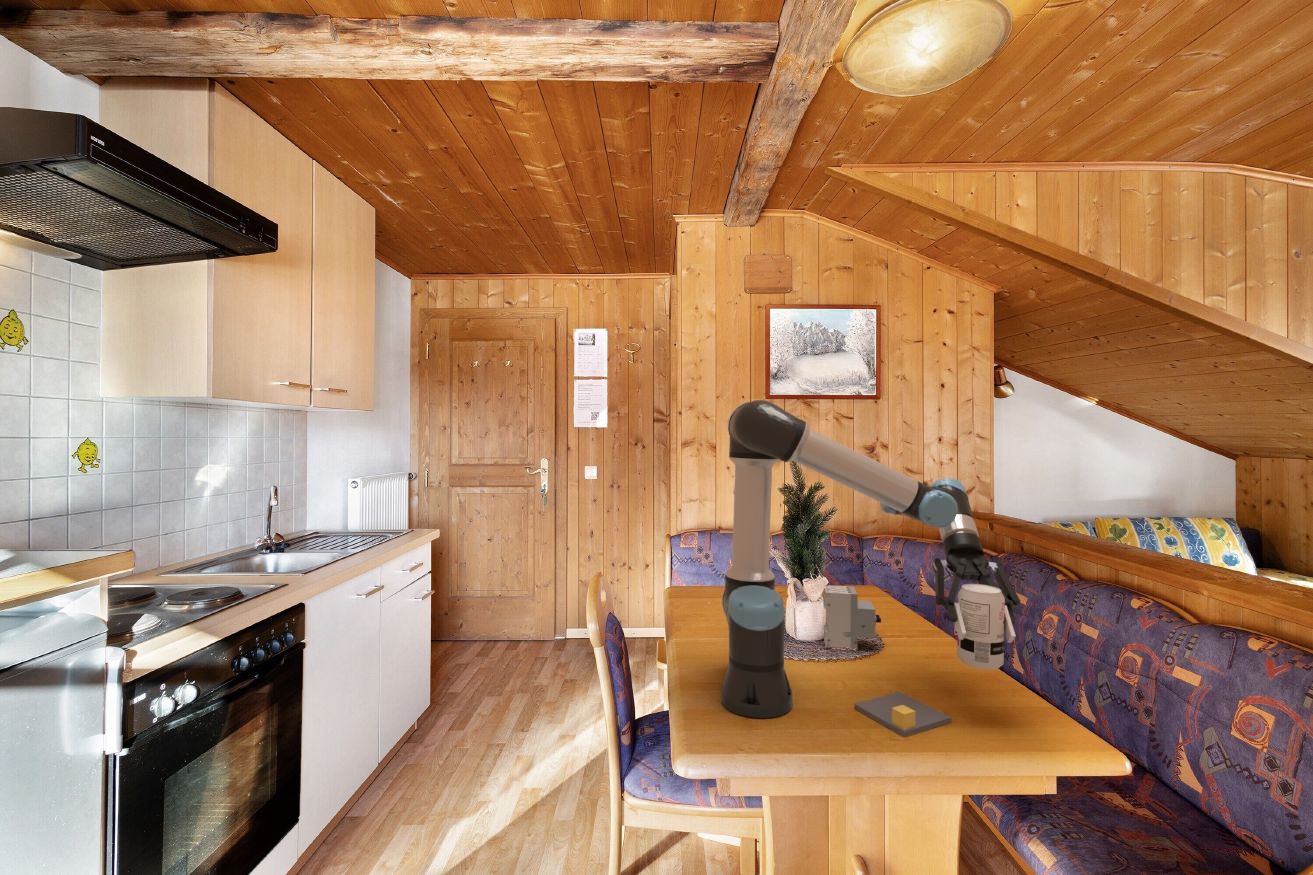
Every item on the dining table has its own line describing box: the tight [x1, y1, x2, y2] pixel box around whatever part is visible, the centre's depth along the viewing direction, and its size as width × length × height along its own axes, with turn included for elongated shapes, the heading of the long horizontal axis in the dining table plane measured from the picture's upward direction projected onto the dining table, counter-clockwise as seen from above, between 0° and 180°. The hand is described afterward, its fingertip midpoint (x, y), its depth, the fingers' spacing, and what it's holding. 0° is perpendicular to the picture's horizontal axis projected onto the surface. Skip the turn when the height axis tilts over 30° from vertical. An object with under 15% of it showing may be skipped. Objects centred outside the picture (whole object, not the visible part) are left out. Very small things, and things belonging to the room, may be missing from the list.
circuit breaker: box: [822, 585, 882, 649], centre depth 161 cm, size 8×14×15 cm, turn 78°
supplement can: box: [956, 583, 1005, 671], centre depth 121 cm, size 8×8×15 cm
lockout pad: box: [853, 691, 953, 738], centre depth 122 cm, size 13×13×4 cm
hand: (986, 637), depth 117 cm, fingers closed on supplement can, 8 cm apart
